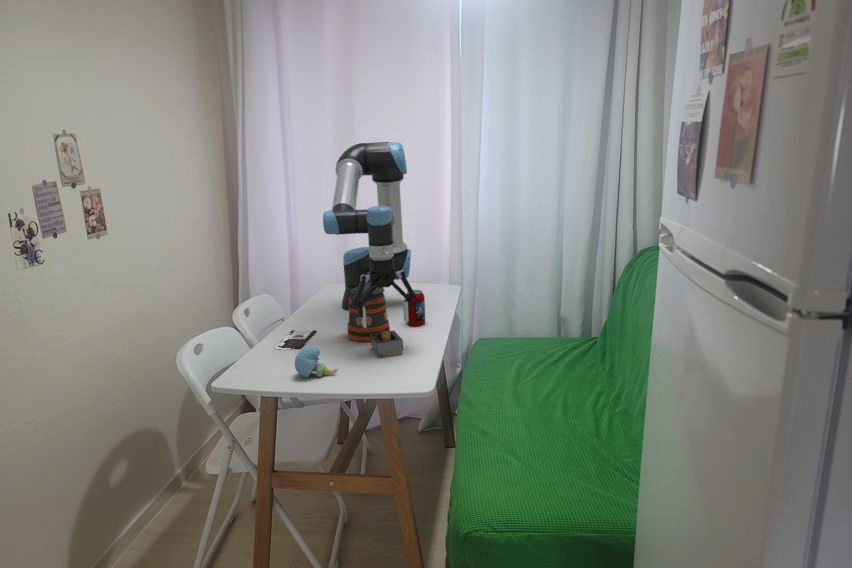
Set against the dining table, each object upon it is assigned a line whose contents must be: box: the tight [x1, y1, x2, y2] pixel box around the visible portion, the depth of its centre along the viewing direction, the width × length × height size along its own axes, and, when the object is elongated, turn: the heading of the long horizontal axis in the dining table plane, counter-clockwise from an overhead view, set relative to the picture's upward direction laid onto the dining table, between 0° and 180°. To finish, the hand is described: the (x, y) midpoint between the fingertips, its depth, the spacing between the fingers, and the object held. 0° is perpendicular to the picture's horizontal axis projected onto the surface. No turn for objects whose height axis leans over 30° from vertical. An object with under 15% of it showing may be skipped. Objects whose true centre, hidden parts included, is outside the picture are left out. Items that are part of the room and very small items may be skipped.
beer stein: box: [347, 272, 391, 343], centre depth 209 cm, size 19×15×20 cm
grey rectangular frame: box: [370, 330, 404, 355], centre depth 193 cm, size 10×8×4 cm
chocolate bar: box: [278, 329, 318, 349], centre depth 207 cm, size 9×1×18 cm
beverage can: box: [406, 289, 426, 327], centre depth 218 cm, size 7×7×12 cm
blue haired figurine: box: [294, 345, 338, 378], centre depth 175 cm, size 7×9×12 cm
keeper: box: [371, 331, 403, 359], centre depth 193 cm, size 10×7×6 cm
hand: (385, 323), depth 192 cm, fingers open, 13 cm apart
